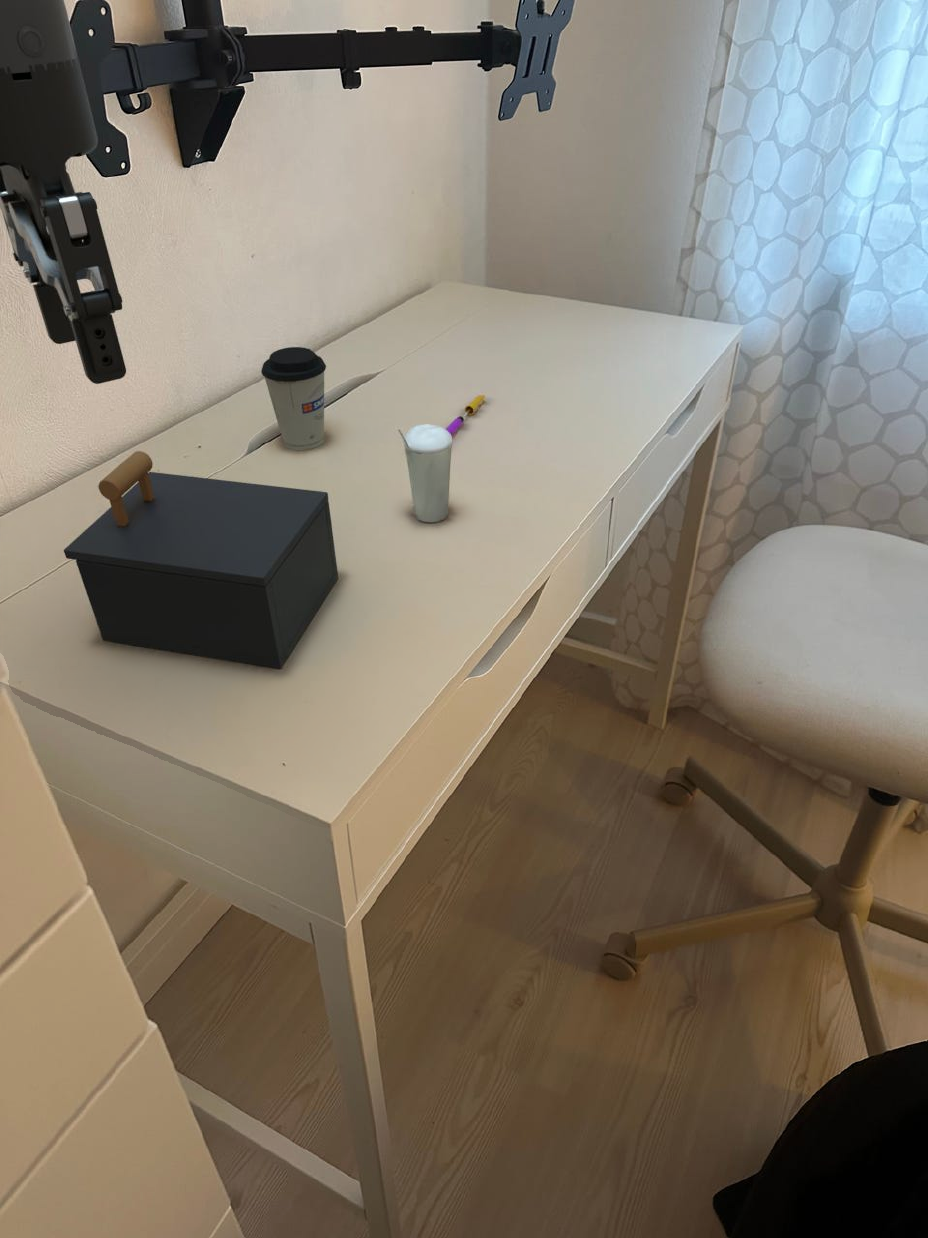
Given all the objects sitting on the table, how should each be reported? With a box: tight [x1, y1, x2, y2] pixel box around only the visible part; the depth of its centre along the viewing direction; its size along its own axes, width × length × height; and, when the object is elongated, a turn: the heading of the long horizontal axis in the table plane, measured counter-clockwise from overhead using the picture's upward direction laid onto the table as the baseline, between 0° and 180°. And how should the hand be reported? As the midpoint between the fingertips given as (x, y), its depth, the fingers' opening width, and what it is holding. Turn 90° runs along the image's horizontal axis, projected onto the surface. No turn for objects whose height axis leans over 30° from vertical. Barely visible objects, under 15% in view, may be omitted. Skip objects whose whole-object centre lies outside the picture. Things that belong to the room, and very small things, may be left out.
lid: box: [63, 450, 329, 586], centre depth 70 cm, size 17×13×5 cm
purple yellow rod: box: [444, 394, 486, 436], centre depth 103 cm, size 3×1×16 cm
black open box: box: [75, 501, 339, 670], centre depth 74 cm, size 16×13×8 cm
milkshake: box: [397, 423, 453, 524], centre depth 85 cm, size 5×5×10 cm
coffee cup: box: [260, 346, 327, 451], centre depth 98 cm, size 7×7×10 cm
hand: (87, 358), depth 56 cm, fingers open, 8 cm apart
